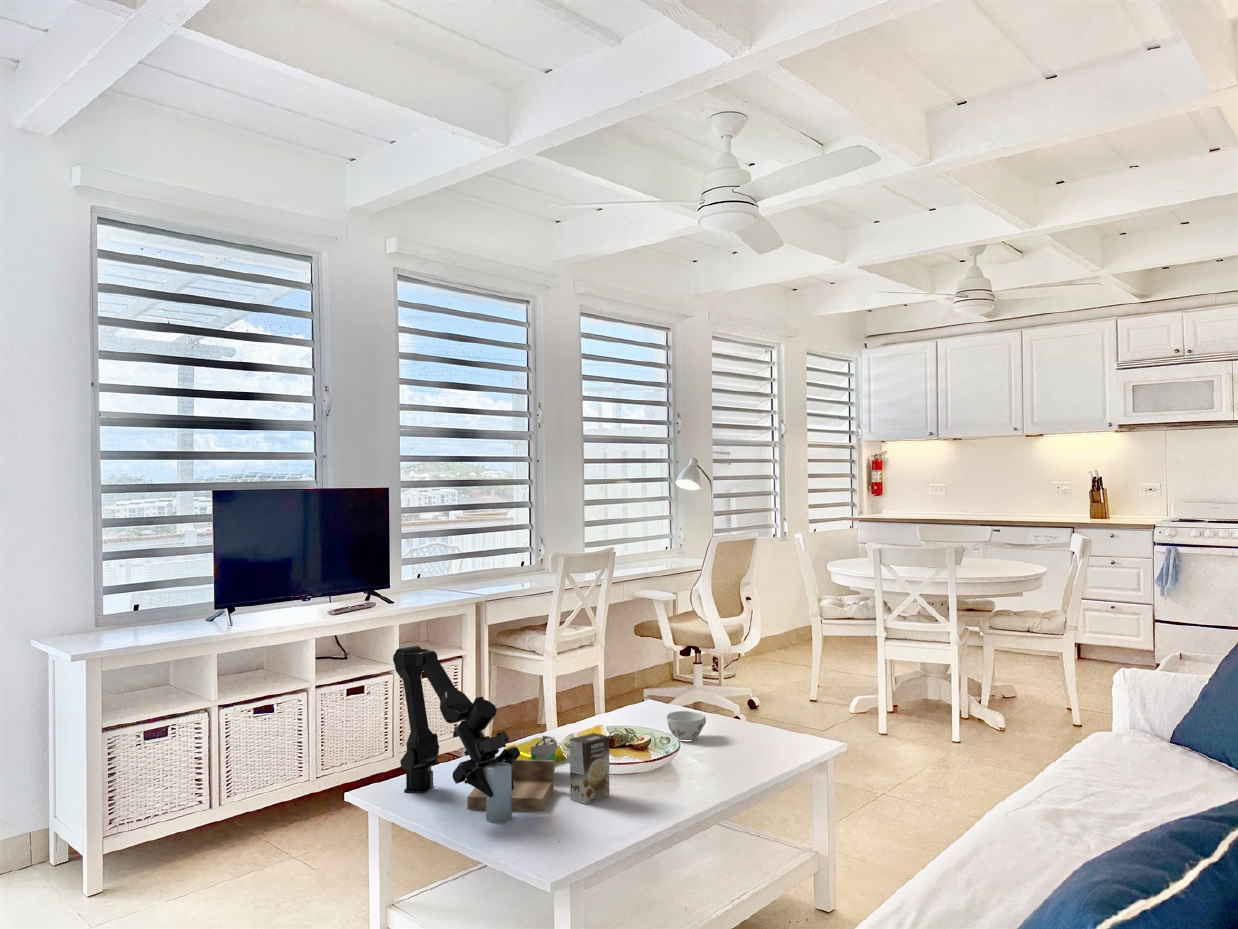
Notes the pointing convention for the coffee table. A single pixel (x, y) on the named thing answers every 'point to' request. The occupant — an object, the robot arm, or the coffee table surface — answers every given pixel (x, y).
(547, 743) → the food container
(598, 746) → the coffee box
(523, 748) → the yellow bowl
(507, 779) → the frosted glass cup
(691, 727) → the teacup
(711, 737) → the coffee table surface
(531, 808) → the shelf
